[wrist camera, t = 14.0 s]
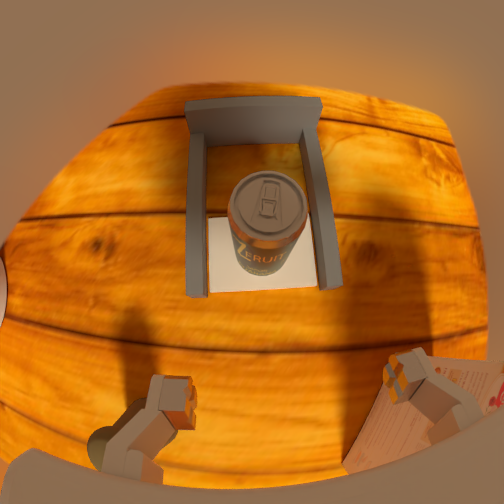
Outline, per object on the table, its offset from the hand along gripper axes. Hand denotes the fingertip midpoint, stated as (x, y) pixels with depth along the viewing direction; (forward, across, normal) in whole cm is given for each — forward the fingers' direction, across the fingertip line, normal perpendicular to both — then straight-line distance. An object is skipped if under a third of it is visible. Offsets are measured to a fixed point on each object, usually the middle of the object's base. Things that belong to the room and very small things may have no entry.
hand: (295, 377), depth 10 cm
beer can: (+19, 0, +6) cm, 20 cm away
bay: (+23, 0, +2) cm, 23 cm away
